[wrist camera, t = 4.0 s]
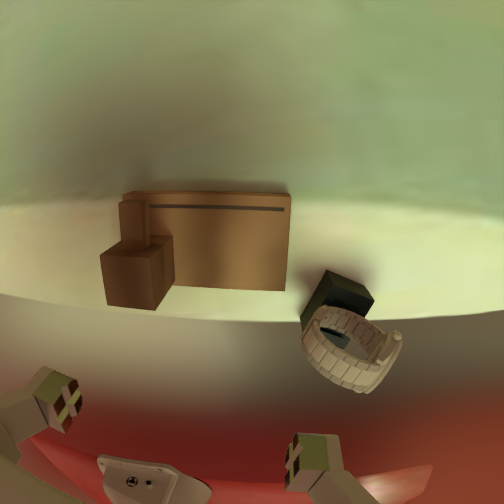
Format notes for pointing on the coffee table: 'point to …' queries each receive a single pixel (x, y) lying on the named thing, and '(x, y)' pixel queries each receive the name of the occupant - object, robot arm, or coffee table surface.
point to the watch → (346, 335)
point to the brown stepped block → (137, 261)
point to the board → (223, 236)
